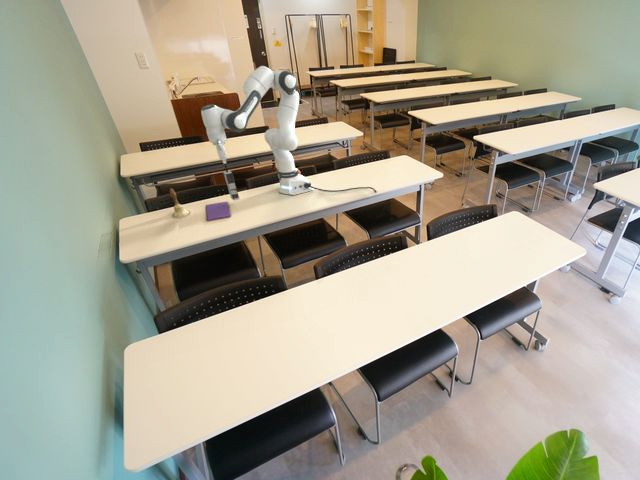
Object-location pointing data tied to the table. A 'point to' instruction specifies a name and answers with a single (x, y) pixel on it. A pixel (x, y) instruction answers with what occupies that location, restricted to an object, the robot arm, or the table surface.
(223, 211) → the mat
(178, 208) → the hand bell
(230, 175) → the vintage mobile phone
